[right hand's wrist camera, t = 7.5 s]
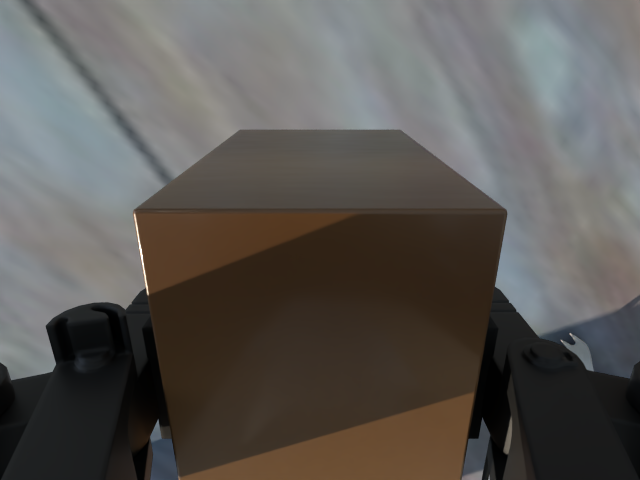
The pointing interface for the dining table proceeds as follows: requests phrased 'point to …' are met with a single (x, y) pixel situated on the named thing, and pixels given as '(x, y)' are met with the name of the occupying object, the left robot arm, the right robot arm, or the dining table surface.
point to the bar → (320, 306)
